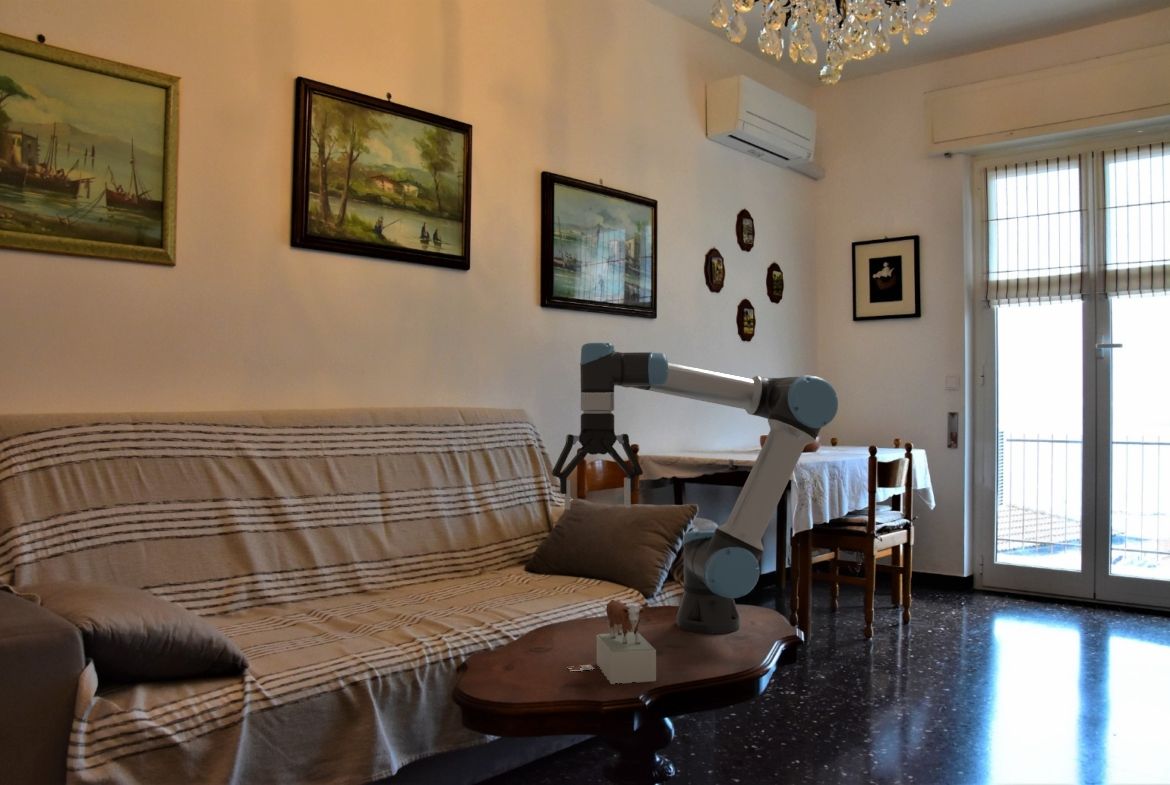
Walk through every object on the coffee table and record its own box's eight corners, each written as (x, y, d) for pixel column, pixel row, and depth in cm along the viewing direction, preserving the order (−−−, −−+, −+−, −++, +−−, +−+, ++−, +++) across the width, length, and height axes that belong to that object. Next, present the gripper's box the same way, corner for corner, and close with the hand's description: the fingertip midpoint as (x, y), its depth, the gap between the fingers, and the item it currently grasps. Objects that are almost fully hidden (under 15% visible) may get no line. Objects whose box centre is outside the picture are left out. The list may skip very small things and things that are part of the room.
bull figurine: (629, 650, 169) (629, 608, 169) (602, 633, 181) (602, 594, 181) (649, 648, 170) (649, 606, 170) (622, 631, 183) (621, 592, 183)
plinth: (638, 661, 183) (638, 631, 183) (656, 681, 170) (655, 648, 170) (596, 664, 181) (596, 633, 181) (611, 684, 168) (610, 651, 168)
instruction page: (590, 665, 180) (590, 664, 180) (595, 669, 177) (595, 668, 177) (567, 668, 179) (567, 667, 179) (571, 672, 176) (571, 671, 176)
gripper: (647, 412, 201) (647, 504, 200) (539, 412, 196) (539, 507, 195) (656, 412, 193) (656, 508, 193) (544, 412, 188) (544, 511, 188)
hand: (597, 508), depth 194 cm, fingers open, 13 cm apart
